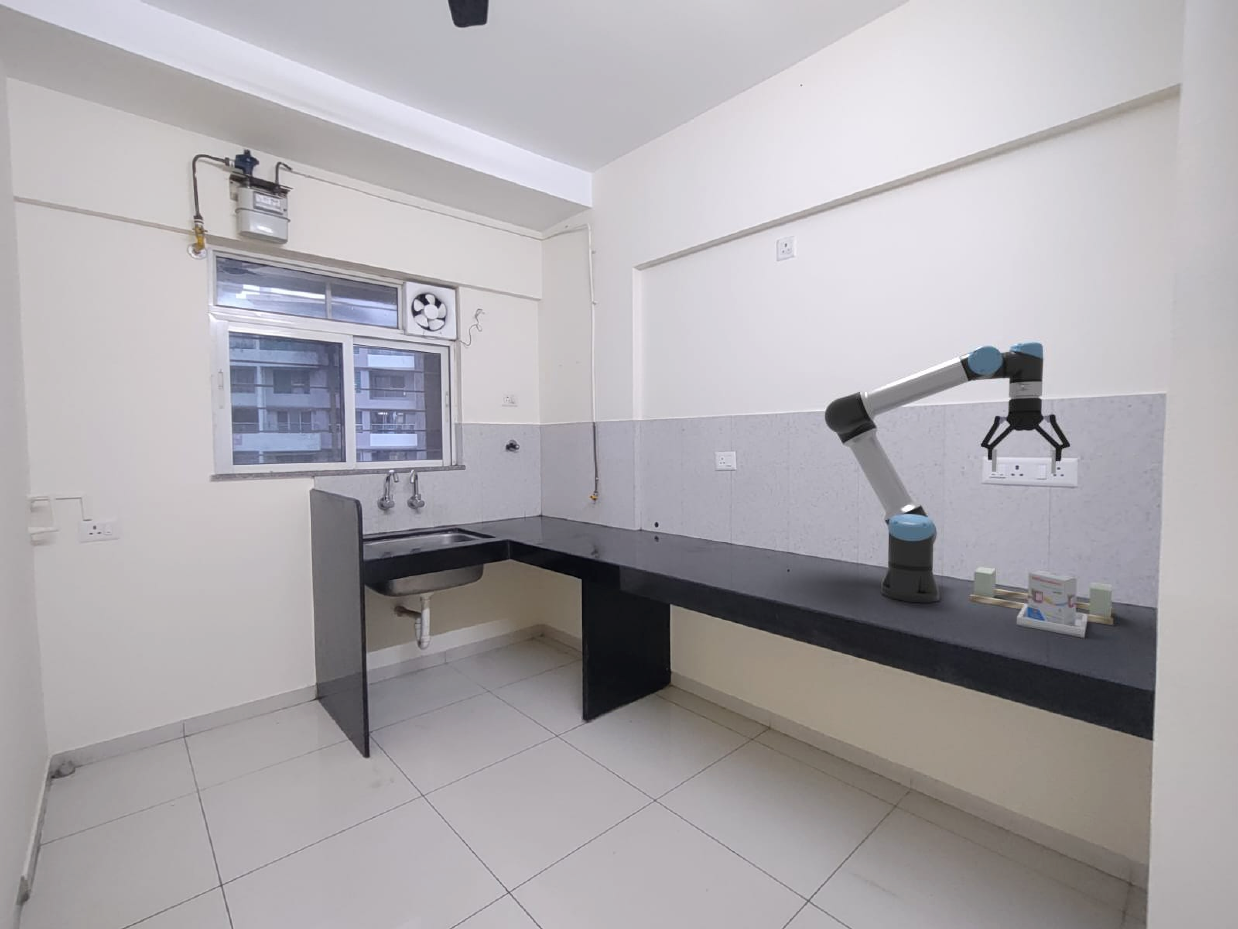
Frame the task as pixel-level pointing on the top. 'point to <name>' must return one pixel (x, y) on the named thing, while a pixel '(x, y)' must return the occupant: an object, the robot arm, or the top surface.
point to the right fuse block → (1100, 599)
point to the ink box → (1052, 597)
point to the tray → (1053, 624)
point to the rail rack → (1025, 596)
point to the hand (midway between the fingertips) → (1022, 472)
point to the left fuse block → (985, 582)
